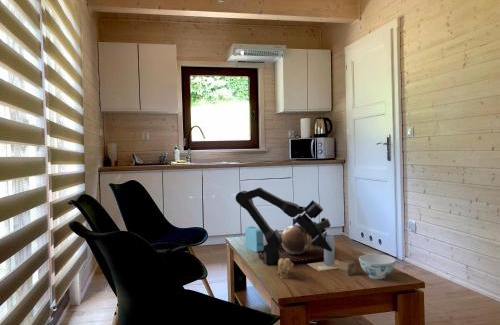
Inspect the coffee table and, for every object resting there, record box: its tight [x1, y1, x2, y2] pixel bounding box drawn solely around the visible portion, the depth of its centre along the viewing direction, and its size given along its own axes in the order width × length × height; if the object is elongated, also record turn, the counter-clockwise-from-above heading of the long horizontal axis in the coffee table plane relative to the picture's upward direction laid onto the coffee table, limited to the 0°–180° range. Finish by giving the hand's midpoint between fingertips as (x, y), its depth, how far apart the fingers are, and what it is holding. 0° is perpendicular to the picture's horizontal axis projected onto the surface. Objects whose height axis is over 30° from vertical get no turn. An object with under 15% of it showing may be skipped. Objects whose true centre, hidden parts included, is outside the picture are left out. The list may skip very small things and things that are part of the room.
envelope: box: [307, 259, 341, 272], centre depth 196 cm, size 16×12×1 cm
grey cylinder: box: [323, 234, 335, 265], centre depth 195 cm, size 5×5×13 cm
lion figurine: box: [276, 257, 295, 279], centre depth 183 cm, size 15×5×9 cm, turn 16°
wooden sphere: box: [280, 224, 311, 255], centre depth 218 cm, size 15×15×15 cm
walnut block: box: [338, 259, 357, 277], centre depth 185 cm, size 5×5×5 cm
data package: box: [244, 225, 265, 253], centre depth 228 cm, size 12×4×12 cm, turn 31°
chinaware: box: [358, 253, 397, 280], centre depth 179 cm, size 15×15×8 cm
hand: (332, 249), depth 195 cm, fingers closed on grey cylinder, 5 cm apart
